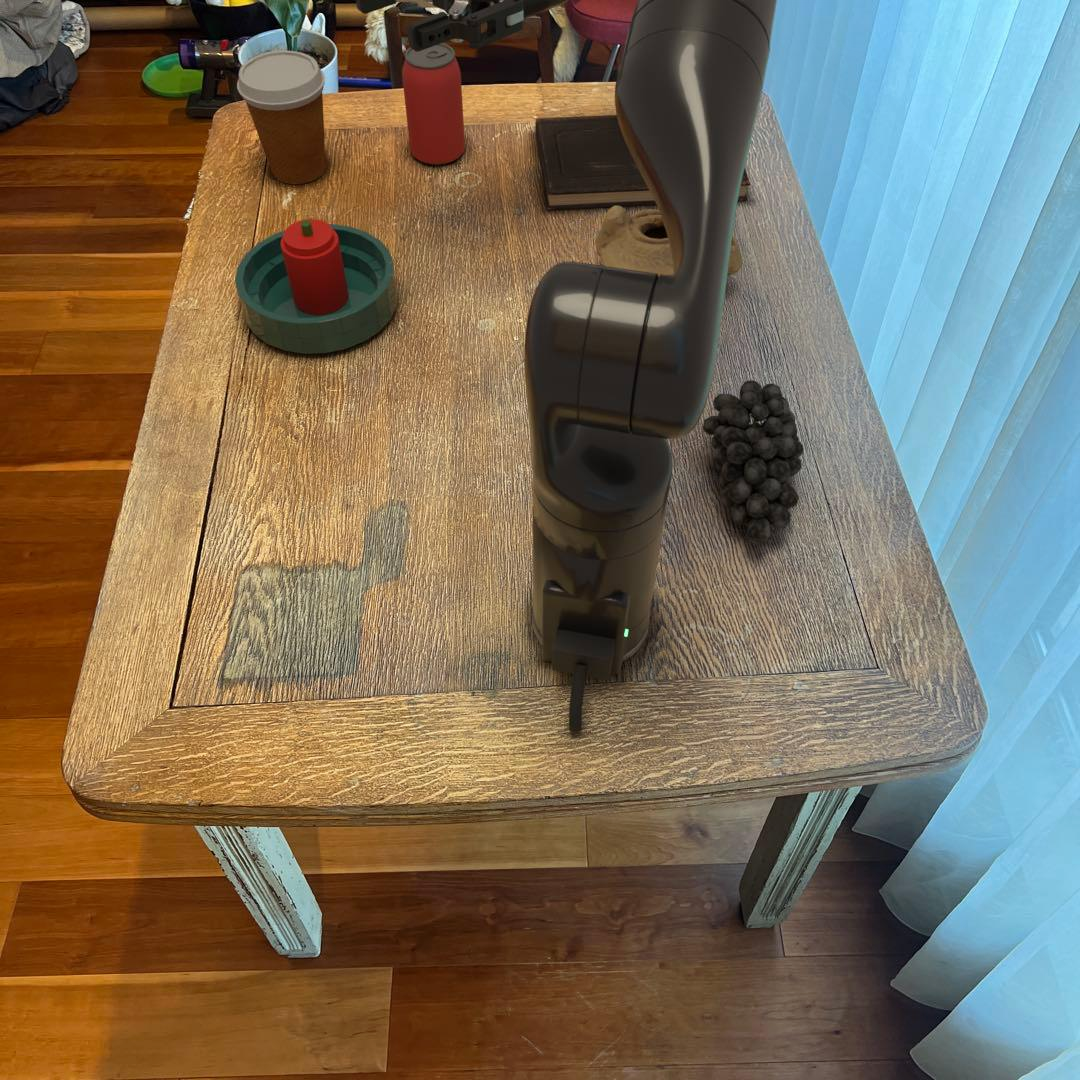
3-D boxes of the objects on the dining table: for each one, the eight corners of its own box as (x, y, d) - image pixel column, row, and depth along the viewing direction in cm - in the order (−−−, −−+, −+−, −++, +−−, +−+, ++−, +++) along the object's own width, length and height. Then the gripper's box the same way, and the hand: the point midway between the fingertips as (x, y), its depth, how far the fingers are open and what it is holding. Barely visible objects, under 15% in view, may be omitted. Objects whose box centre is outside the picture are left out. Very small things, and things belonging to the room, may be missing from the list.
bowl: (371, 368, 100) (365, 333, 96) (221, 345, 102) (210, 310, 98) (416, 270, 109) (412, 234, 105) (278, 250, 111) (269, 215, 107)
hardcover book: (747, 200, 117) (750, 183, 115) (546, 210, 115) (547, 192, 114) (720, 124, 126) (723, 107, 125) (535, 133, 125) (535, 115, 123)
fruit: (801, 494, 78) (792, 357, 87) (694, 508, 81) (696, 373, 89) (814, 559, 85) (805, 425, 93) (715, 569, 87) (714, 438, 96)
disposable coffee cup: (327, 196, 117) (308, 96, 108) (247, 188, 118) (221, 89, 108) (349, 150, 123) (333, 51, 113) (273, 143, 124) (251, 45, 114)
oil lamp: (742, 311, 105) (756, 246, 99) (597, 313, 105) (601, 248, 98) (728, 246, 112) (740, 181, 105) (591, 247, 111) (595, 182, 105)
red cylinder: (318, 323, 103) (301, 248, 96) (282, 298, 105) (264, 224, 98) (359, 296, 105) (347, 221, 98) (324, 273, 108) (309, 198, 101)
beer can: (472, 160, 122) (467, 61, 112) (420, 172, 120) (410, 73, 111) (455, 132, 125) (448, 34, 116) (403, 143, 124) (392, 44, 114)
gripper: (484, -102, 95) (334, -55, 89) (580, -48, 89) (425, 6, 82) (487, -18, 101) (347, 31, 95) (578, 38, 95) (433, 95, 88)
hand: (383, 19), depth 89 cm, fingers open, 8 cm apart
